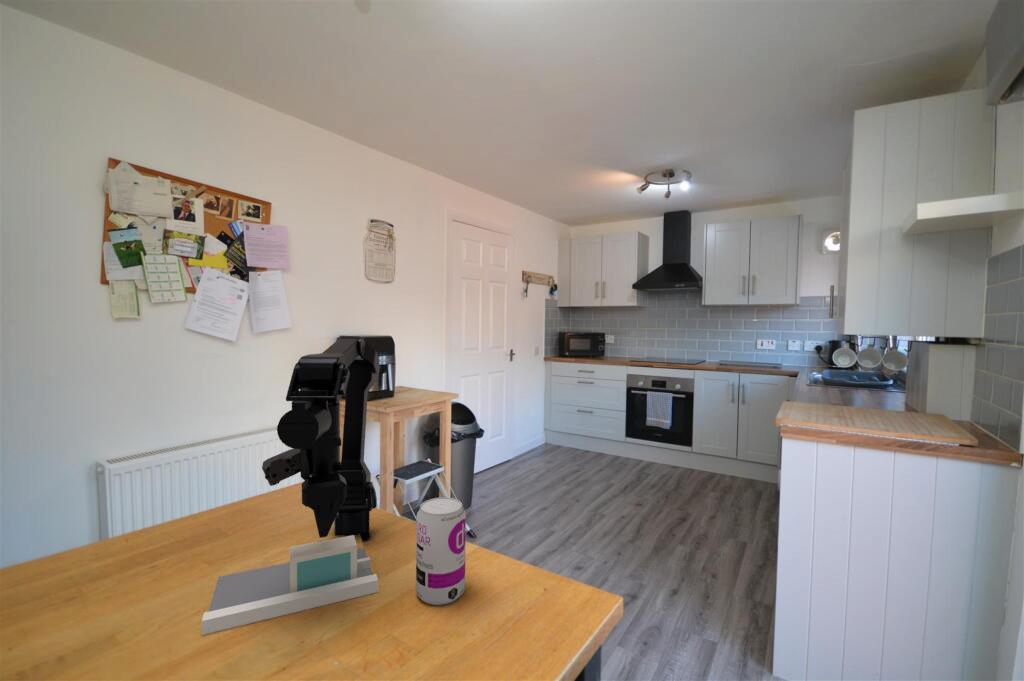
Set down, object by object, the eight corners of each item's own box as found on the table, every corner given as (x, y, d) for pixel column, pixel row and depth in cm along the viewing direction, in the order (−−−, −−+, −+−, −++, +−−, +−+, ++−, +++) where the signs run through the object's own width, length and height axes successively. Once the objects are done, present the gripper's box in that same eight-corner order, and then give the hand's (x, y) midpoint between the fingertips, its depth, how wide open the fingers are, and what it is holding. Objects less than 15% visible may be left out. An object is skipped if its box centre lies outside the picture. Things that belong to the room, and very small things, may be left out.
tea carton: (290, 588, 74) (290, 546, 73) (353, 574, 78) (353, 534, 78) (290, 602, 70) (289, 558, 70) (356, 586, 74) (357, 545, 74)
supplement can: (473, 585, 78) (474, 501, 77) (447, 613, 70) (448, 519, 70) (434, 574, 81) (435, 493, 81) (405, 599, 74) (406, 509, 73)
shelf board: (364, 555, 87) (364, 537, 87) (378, 600, 73) (378, 580, 73) (218, 585, 77) (218, 565, 77) (201, 645, 62) (201, 621, 62)
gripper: (268, 424, 78) (268, 511, 79) (262, 452, 62) (262, 563, 62) (336, 419, 83) (336, 501, 84) (347, 443, 66) (347, 546, 67)
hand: (321, 524), depth 74 cm, fingers open, 9 cm apart
